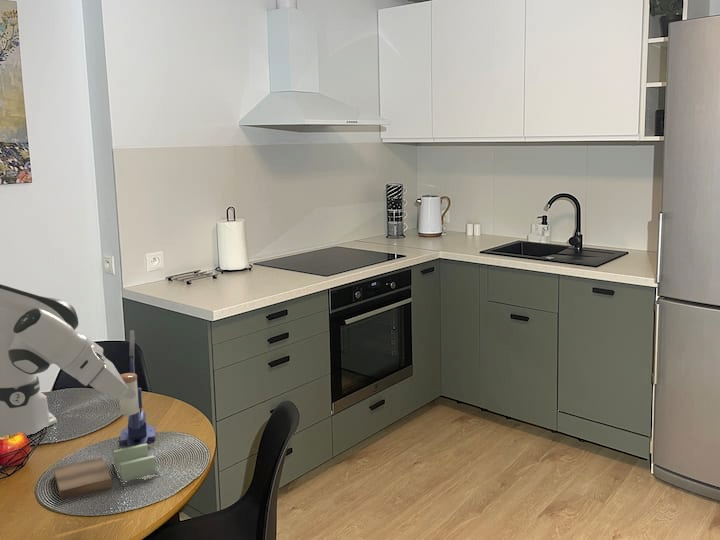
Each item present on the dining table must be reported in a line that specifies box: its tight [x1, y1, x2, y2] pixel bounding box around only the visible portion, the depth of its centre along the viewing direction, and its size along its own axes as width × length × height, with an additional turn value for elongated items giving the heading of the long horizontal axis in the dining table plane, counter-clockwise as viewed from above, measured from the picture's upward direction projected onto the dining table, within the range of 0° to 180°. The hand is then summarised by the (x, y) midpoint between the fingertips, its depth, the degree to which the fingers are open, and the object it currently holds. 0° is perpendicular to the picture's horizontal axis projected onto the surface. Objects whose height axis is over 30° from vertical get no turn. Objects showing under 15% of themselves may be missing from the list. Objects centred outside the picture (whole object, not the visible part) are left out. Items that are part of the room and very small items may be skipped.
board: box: [53, 457, 113, 501], centre depth 161 cm, size 12×11×2 cm
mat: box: [118, 468, 162, 488], centre depth 167 cm, size 14×9×1 cm, turn 30°
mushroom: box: [119, 372, 139, 416], centre depth 163 cm, size 4×4×9 cm
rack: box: [113, 443, 158, 482], centre depth 166 cm, size 10×8×4 cm
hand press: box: [120, 330, 156, 447], centre depth 181 cm, size 19×9×28 cm, turn 17°
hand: (131, 391), depth 163 cm, fingers closed on mushroom, 4 cm apart
